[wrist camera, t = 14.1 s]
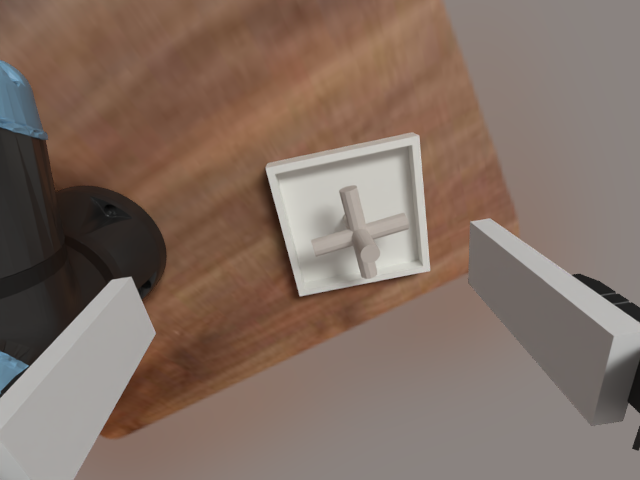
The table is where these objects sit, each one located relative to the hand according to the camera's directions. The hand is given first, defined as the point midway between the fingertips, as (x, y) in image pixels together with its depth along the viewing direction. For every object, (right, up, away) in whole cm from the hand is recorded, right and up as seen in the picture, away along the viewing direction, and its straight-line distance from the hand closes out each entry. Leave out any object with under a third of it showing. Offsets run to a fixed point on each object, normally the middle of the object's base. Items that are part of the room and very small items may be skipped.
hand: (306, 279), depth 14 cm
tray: (+4, +4, +28) cm, 29 cm away
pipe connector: (+4, +4, +27) cm, 28 cm away
